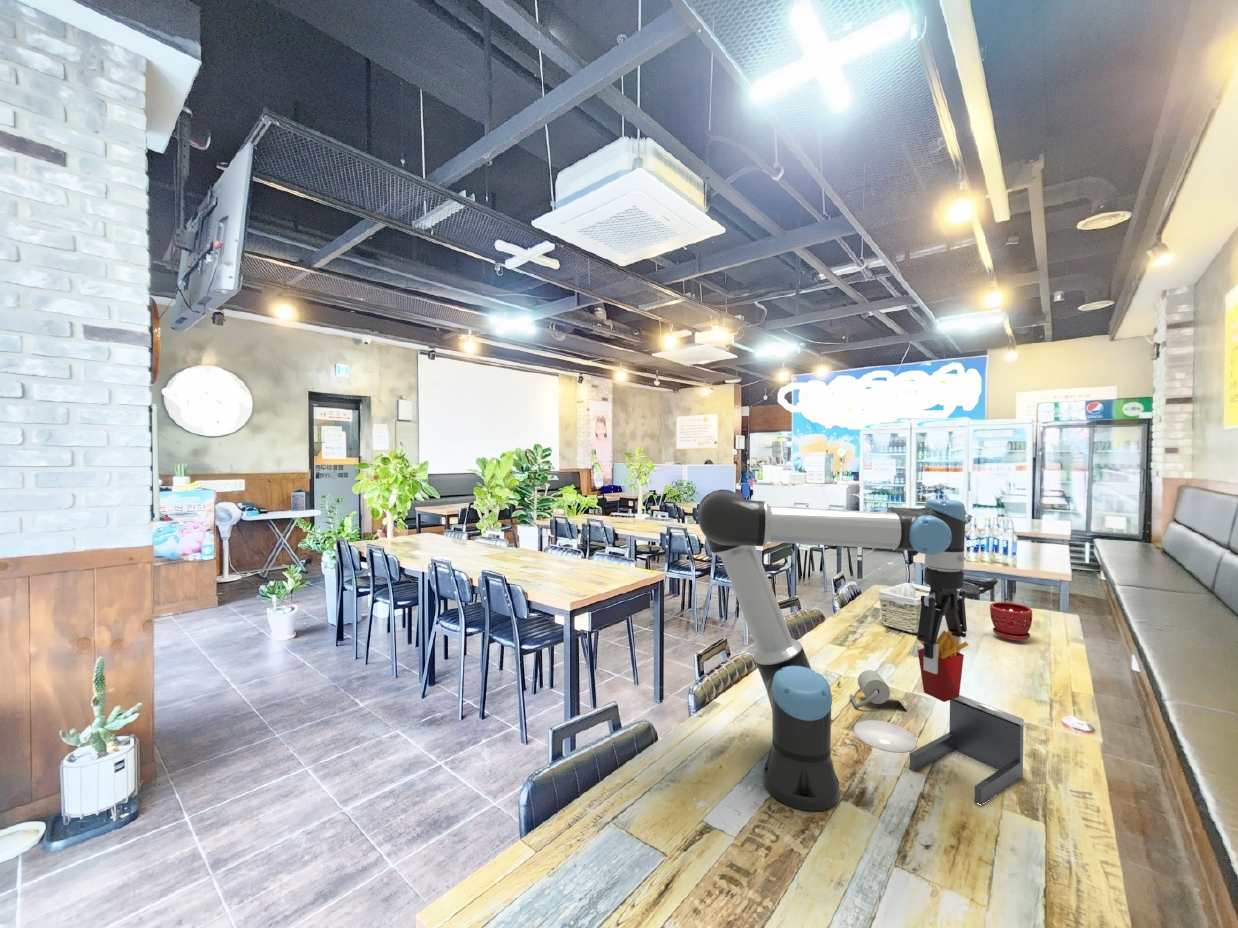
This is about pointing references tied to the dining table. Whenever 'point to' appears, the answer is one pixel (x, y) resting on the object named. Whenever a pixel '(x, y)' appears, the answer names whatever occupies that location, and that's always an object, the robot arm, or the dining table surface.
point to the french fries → (944, 669)
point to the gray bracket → (980, 744)
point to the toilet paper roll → (872, 688)
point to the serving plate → (885, 736)
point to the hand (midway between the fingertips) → (941, 667)
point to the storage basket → (902, 606)
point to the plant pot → (1011, 620)
